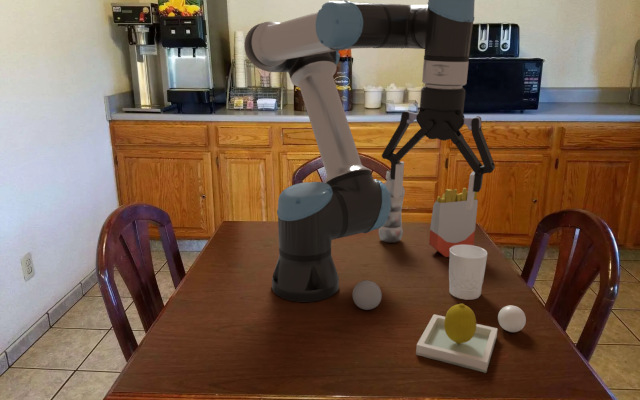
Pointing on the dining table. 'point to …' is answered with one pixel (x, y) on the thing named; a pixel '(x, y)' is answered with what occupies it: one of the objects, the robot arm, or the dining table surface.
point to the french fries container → (452, 221)
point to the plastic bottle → (392, 214)
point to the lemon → (460, 323)
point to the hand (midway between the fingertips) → (432, 202)
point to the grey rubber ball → (367, 295)
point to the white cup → (466, 271)
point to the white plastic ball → (511, 318)
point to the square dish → (457, 346)
